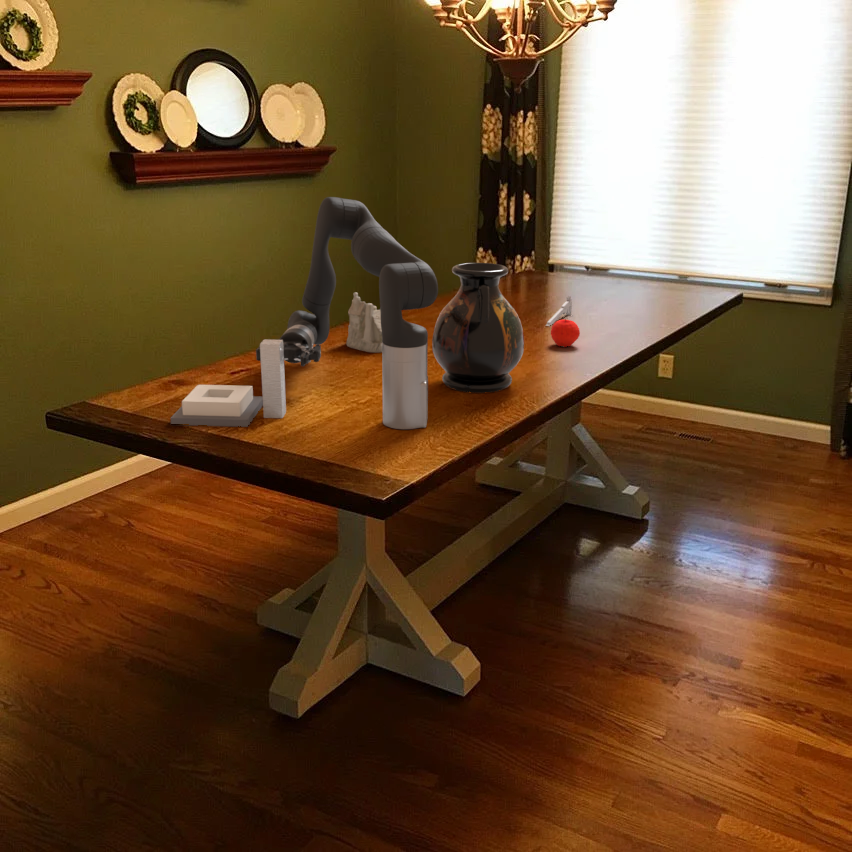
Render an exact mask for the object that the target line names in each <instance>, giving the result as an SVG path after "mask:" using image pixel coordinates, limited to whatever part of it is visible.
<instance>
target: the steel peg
mask: <svg viewBox="0 0 852 852" xmlns="http://www.w3.org/2000/svg"><path fill="white" fill-rule="evenodd" d="M259 346H260V355H261V363H260V370H261V372H260V373H261V392H262V396H263V406H262V408H263V409H262V411H263V418H264V419H283V418H284V417H285V415H286V413H287V405H286V404H287V401H286V399H287V398H286V379H285V360H284V351H283V340H279V339H263V340H262V341H261V342H260V343H259Z"/></svg>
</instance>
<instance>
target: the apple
mask: <svg viewBox="0 0 852 852" xmlns="http://www.w3.org/2000/svg"><path fill="white" fill-rule="evenodd" d="M550 328H551V329H550V335H551V338H552V340H553V342H554V344H555V345H556V346H558V347H560V346H564V347H563V348H568V347H571V346H572V345H573V344H574V343H575V342H576V341H577V340H578V339H579V337H580V333H581V332H580V328H579V326H578V324H577V323H576V322H575V321H573V320H570V319H557V320H556V321H555V322H554V324H553V325H551V327H550ZM567 346H568V347H567Z"/></svg>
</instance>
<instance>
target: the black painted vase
mask: <svg viewBox="0 0 852 852" xmlns="http://www.w3.org/2000/svg"><path fill="white" fill-rule="evenodd" d="M451 271H452V273H453V274H454V275H455V276H458V277H459V279H460V280H459V281H460V287H459V289H458V291H457V293H456V294H455V296H454V297H452V298H451V300H450V301H448V303H447V304H446V305H445V306H444V307H443V308H442V310H441V311H440V312H439V315H438V317H437V320H436V322H435V324H434V325H435V326H434V327H433V328H434V329H433V335H432V339H431V342H432V343H431V344H432V348H431V349H432V353H433V356H434V358H435V359H436V362H437V363H438V364H439V365H440V367H441V368H442V369H443V370H444V374H443V375H442V378H441V379H442V382H443V384H445V386H446V387H448V388H450V389H451V390H455V391H458V392H462V391H463V393H469V392H471V394H486V393H485V392H490V393H495V391H496V392H499V390H500V391H503V390H505V389H506V388H508V387H509V386H511V384H512V383H513V382H512V381H513V378H512V376H511V375H510V373H511V372H512V371H513V369H515V367H517V365H518V364H519V362H520V361H521V360H522V357H523V354H524V351H525V350H524V349H525V337H524V330H523V326H522V322H521V319H520V318H519V315H518V313H517V311H516V310H515V308H514V307H513V306H512V305H511V304H510V302H509V301H508V300H507V299H506V298H505V296H504V295H503V294H502V292H501V290H500V288H499V287H500V286H499V284H500V280H501V279H500V278H502V277H504V276H506V275H508V273H509V269H508V267H506V266H505V265H502V264H499V263H490V262H466V263H459V264H456V265H454V266H453V267H452V268H451Z"/></svg>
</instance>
